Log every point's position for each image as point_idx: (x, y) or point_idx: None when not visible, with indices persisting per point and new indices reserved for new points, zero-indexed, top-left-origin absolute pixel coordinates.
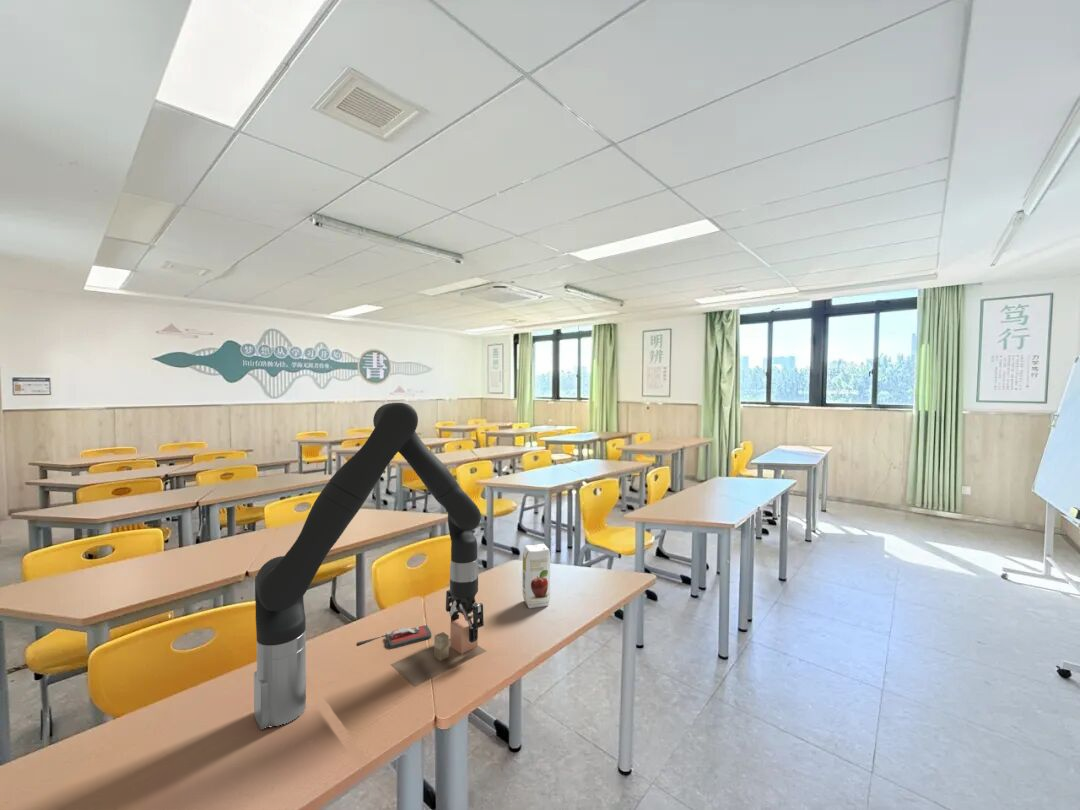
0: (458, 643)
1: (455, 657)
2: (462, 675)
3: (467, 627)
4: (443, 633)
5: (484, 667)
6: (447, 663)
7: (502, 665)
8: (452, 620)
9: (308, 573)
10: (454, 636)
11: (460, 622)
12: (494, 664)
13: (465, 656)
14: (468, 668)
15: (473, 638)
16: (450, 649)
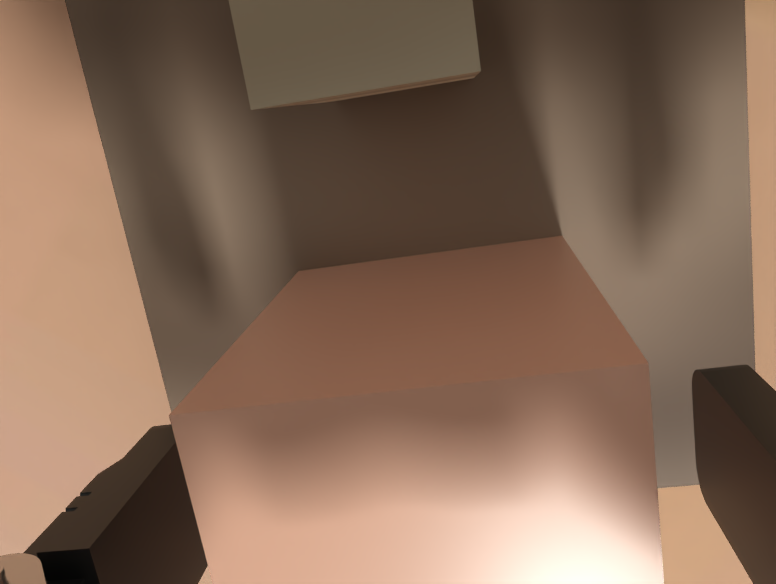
0: (349, 292)
1: (269, 173)
2: (33, 129)
3: (216, 547)
4: (409, 48)
5: (59, 384)
6: (197, 22)
7: (11, 530)
8: (768, 455)
9: None
10: (459, 297)
11: (465, 531)
12: (60, 483)
13: (224, 287)
14: (121, 243)
15: (89, 484)
16: (486, 200)
